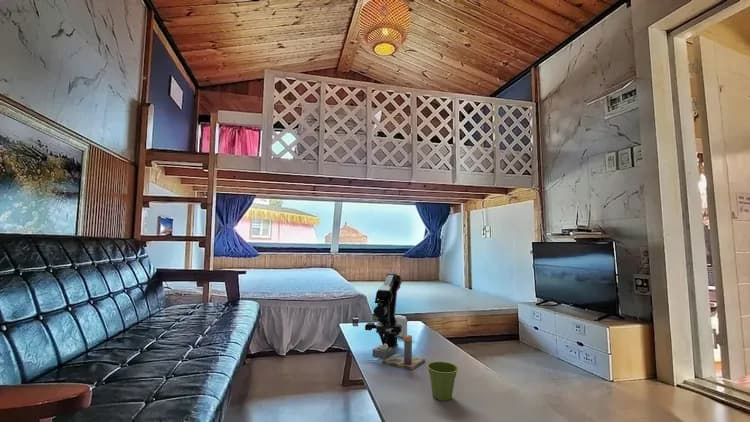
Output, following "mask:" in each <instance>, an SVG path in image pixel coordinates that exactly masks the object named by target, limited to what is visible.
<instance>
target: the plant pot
mask: <svg viewBox="0 0 750 422" xmlns="http://www.w3.org/2000/svg"><path fill="white" fill-rule="evenodd" d="M426 367H427V369H428V373H429V378H430V385H431V392H432V393H431V394H432V397H433V398H434V399H437V400H439V401H445V402H446V401H449V400H450V399H452V397H453V392H454V388H455V387H454V385H455V382H456V381H455V379H456V376H457V373H458V372H459V367H458V366H457V365H455V364H454V363H451V362H447V361H432V362H429V363H427V365H426Z"/></svg>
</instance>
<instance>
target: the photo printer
mask: <svg viewBox="0 0 750 422" xmlns="http://www.w3.org/2000/svg"><path fill="white" fill-rule="evenodd" d="M395 318H396V320H397V324H398V325H402V331H401V333H399V335H397V337H400V338H403V339H404V335H408V319H407V318H406V317H405V316H404V315H400V314H395Z"/></svg>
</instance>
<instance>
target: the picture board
mask: <svg viewBox="0 0 750 422" xmlns="http://www.w3.org/2000/svg"><path fill="white" fill-rule="evenodd" d="M425 362H426V359H424V358H420V357H415V356H412V364H410V365H407V364H404V354H402V353H394V354H393V355H391V356H390V357H388V358H384V359H383V360H382V361H381V364H383V363H384V365H388V366H393V367H397V368H401V369H404V370H405V369H406V370H409V371H413V370H415V369H416V368H418V367H419V366H421V365H422V364H424V363H425Z"/></svg>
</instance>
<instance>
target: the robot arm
mask: <svg viewBox="0 0 750 422" xmlns="http://www.w3.org/2000/svg"><path fill="white" fill-rule="evenodd" d="M385 277H386V278H385V280H384V282H383V284H382V286H380V287H379V288H378V290H377V291H376V293H375V300H374V304H377V305H376V306H375V307H374V309H373V315H374V316H375V317H376V318H377V321H376V324H375V322H367V323H366V324H365V325H364V330H365V331H372V330H375V332H376V334H378V336H379V337H380V341H381V344H383V345H384V344H388V347H391V348H395V347H396V346H398V345H399V343H398V336H397V335H399V333H401V331H402V325H398V324H397V320H396V318H395V315H396V307H397V295H398V291H399V290H400V288H401V285H402V282H403V281H402V280H403V279H402V276H400V275H398V274H397V273H394V272H388V273H386V276H385Z"/></svg>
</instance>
